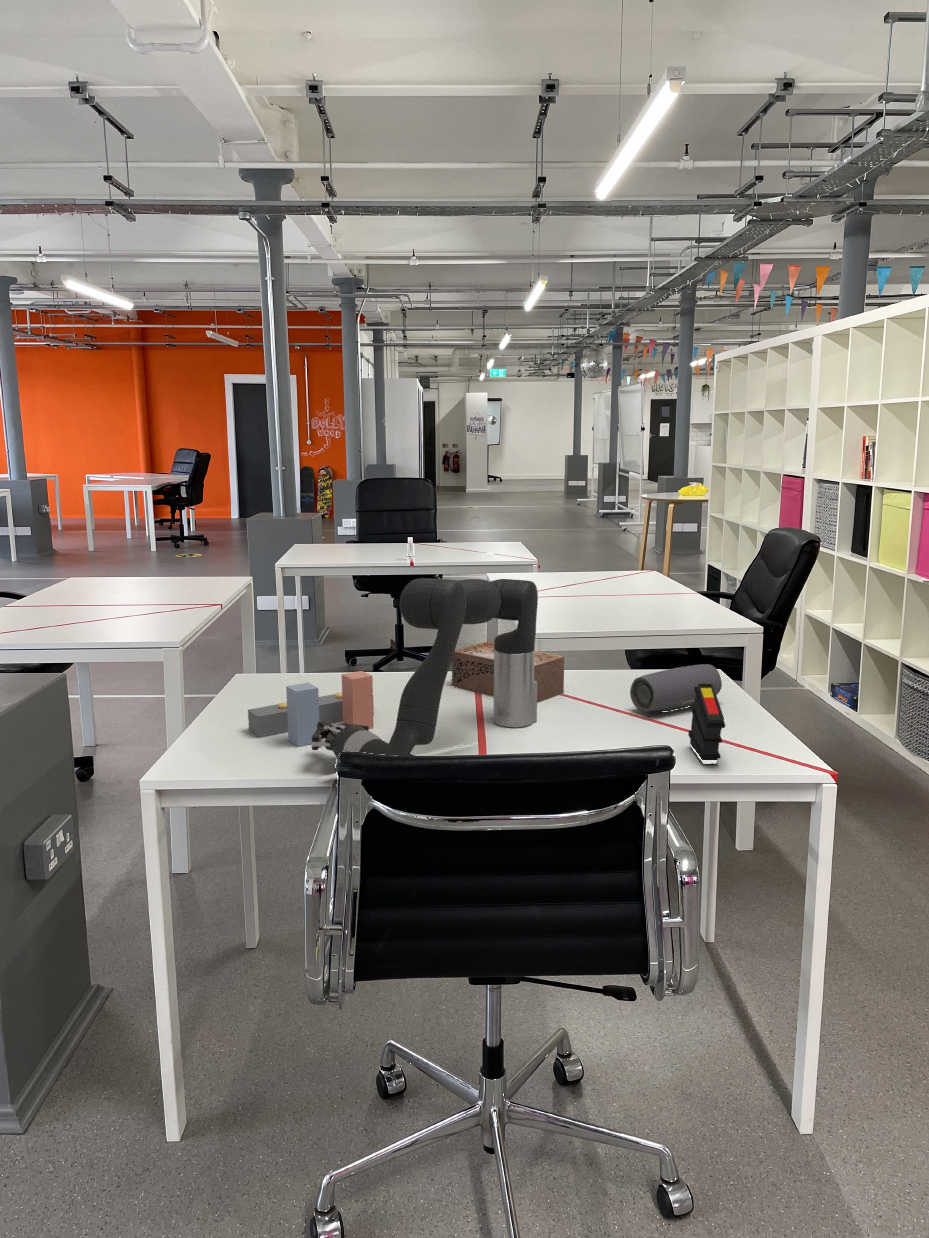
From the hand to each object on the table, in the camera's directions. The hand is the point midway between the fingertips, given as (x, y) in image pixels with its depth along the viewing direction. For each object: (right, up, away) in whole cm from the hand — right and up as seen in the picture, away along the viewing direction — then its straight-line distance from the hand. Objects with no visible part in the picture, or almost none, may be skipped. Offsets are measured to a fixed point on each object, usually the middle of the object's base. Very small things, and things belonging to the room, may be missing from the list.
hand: (320, 725), depth 182 cm
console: (-2, -4, +16) cm, 16 cm away
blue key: (-5, -4, +8) cm, 10 cm away
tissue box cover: (+40, +3, +51) cm, 65 cm away
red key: (+6, -2, +17) cm, 18 cm away
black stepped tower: (+79, -7, +2) cm, 79 cm away
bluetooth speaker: (+81, 0, +35) cm, 88 cm away
